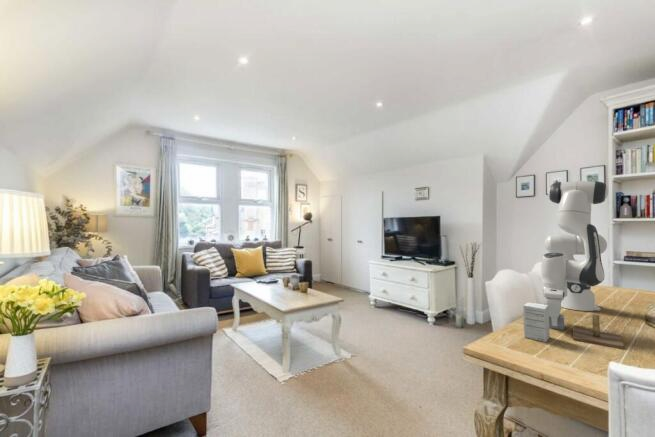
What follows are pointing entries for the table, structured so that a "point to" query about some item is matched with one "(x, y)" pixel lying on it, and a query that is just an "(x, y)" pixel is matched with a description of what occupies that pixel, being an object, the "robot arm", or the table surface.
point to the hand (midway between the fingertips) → (555, 322)
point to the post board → (598, 340)
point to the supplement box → (536, 321)
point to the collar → (559, 323)
